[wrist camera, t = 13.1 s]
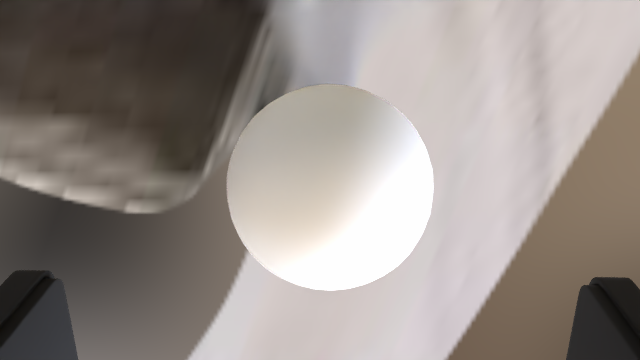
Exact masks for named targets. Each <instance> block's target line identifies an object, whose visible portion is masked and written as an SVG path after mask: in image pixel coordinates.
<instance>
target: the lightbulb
mask: <svg viewBox="0 0 640 360" xmlns="http://www.w3.org/2000/svg"><path fill="white" fill-rule="evenodd" d="M433 189H434V187H433V171H432V166H431V163H430V159H429V156H428V152H427V150H426V147H425V145H424V143H423V141H422V139H421V138H420V136H419V134H418V132H417V130H416V128H415V127H414V126H413V125H412V123H411V122H410V121H409V120H408V119H407V118H406V116H405V115H404V114H403V113H402V112H401V111H399V110H398V109H397V108H396V107H394V106H393V105H392V104H390V103H389V102H388V101H386V100H384V99H382V98H380V97H378V96H376V95H374V94H372V93H370V92H368V91H366V90H362V89H358V88H355V87H351V86H347V85H335V84H323V85H315V86H308V87H305V88H302V89H299V90H296V91H293V92H290V93H287V94H285V95H283V96H282V97H280V98H278V99H276V100H275V101H273V102H271V103H269V104H268V105H267V106H266V107H264V108H263V109H262V110H261V111H260V112H259V113H258V114H256V115H255V116H254V117H253V118H252V120H251V121H250V122H249V124H248V125H247V126H246V128H245V129H244V130H243V132H242V133H241V135H240V138H239V140H238V142H237V144H236V146H235V148H234V151H233V153H232V155H231V159H230V163H229V168H228V172H227V198H228V199H227V200H228V205H229V210H230V214H231V219H232V221H233V223H234V225H235V228H236V230H237V232H238V235H239V237H240V239H241V240H242V242H243V244H244V245H245V246H246V248H247V249H248V251H249V252H250V253H251V255H252V256H253V257H254V258H255V259H256V260H257V261H258V262H259V263H260V264H261V265H262V266H263V267H264V268H266V269H267V270H269V271H270V272H272V273H273V274H275V275H277V276H278V277H280V278H282V279H284V280H287V281H289V282H291V283H294V284H296V285H299V286H303V287H307V288H312V289H317V290H341V289H350V288H353V287H357V286H360V285H364V284H367V283H369V282H372V281H374V280H376V279H378V278H380V277H382V276H384V275H386V274H387V273H388V272H390V271H391V270H393V269H394V268H395V267H397V266H398V265H399V264H400V263H401V262H402V261H403V260H404V259H405V258H406V257H407V256H408V255H409V254H410V253H411V251H412V250H413V248H414V247H415V245H416V243H417V242H418V240H419V239H420V237H421V235H422V233H423V231H424V229H425V226H426V224H427V221H428V218H429V216H430V211H431V205H432V199H433Z"/></svg>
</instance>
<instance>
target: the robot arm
mask: <svg viewBox="0 0 640 360" xmlns="http://www.w3.org/2000/svg"><path fill="white" fill-rule="evenodd" d="M0 360H78V356H77V351H76V346H75V341H74V335H73V330H72V325H71V320H70V314H69V309H68V304H67V299H66V294H65V289H64V285H63V282H62V281H61V280H60V279H55V278H54V275H53V274H52V272H50V271H36V270H31V271H30V270H19V271H15V272H13V273H12V274H11V275H10V276H9V277H8V278H7V279H6V280H5V281H4V283H3V284H2V285H1V286H0ZM566 360H640V289H639V288H638V287H637V286H636V285H635V284H634V282H633V281H632V280H630V279H629V278H615V277H612V278H611V277H595V278H593V279H592V280H591V282H590V284H589V285H584V286H582V287H581V289H580V292H579V296H578V301H577V306H576V311H575V316H574V322H573V327H572V332H571V337H570V342H569V348H568V353H567V358H566Z"/></svg>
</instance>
